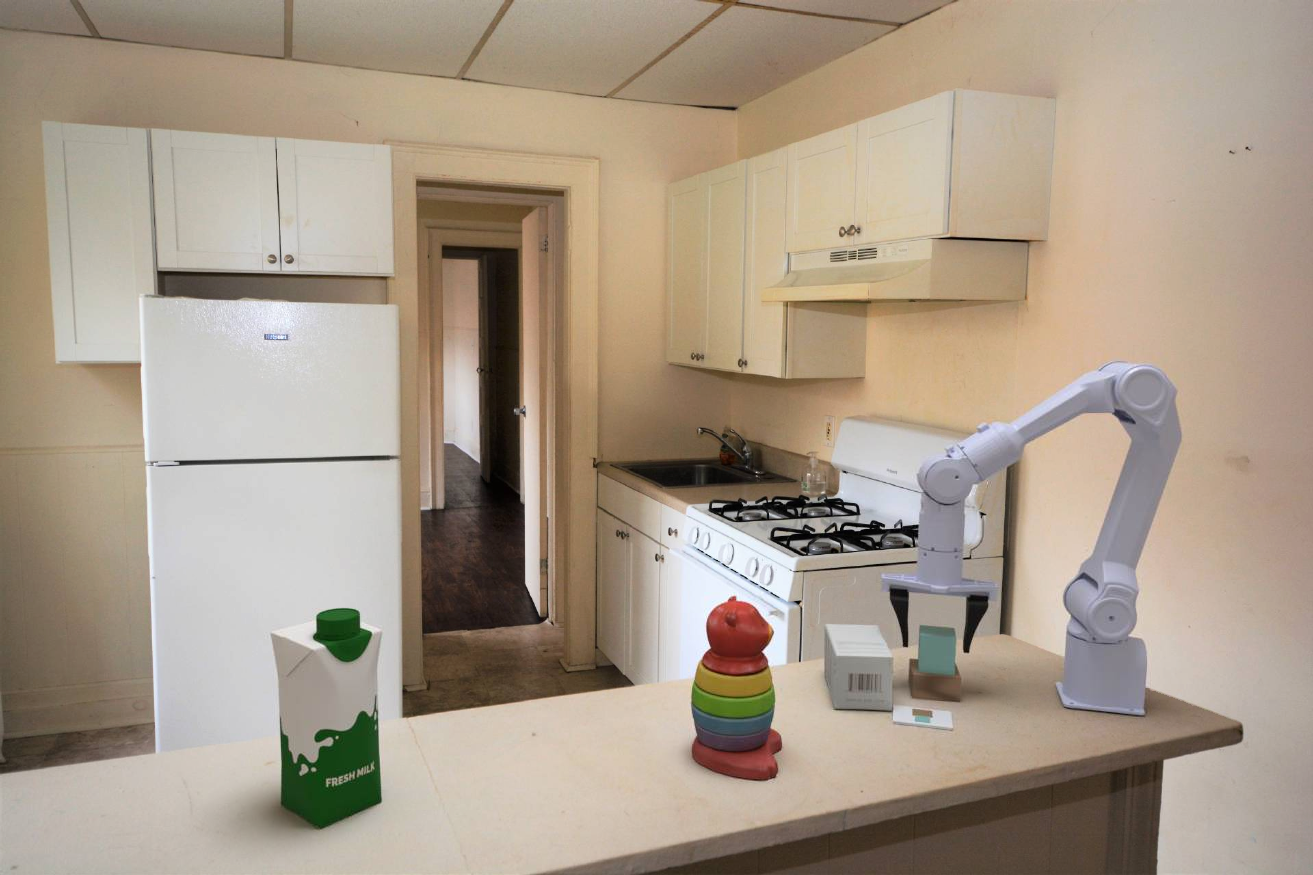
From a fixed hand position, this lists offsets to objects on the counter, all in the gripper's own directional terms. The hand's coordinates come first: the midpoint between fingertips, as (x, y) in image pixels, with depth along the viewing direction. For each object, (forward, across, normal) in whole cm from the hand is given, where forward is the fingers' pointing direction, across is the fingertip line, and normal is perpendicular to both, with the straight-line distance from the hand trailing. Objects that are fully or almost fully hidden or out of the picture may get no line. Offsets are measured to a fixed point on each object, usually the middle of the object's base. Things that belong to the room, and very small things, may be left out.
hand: (935, 647), depth 125 cm
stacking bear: (+6, -22, -26) cm, 35 cm away
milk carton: (+6, -59, -48) cm, 76 cm away
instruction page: (+6, -2, -10) cm, 11 cm away
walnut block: (+6, 0, 0) cm, 6 cm away
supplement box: (+2, -9, -10) cm, 13 cm away
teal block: (+3, 0, 0) cm, 3 cm away
